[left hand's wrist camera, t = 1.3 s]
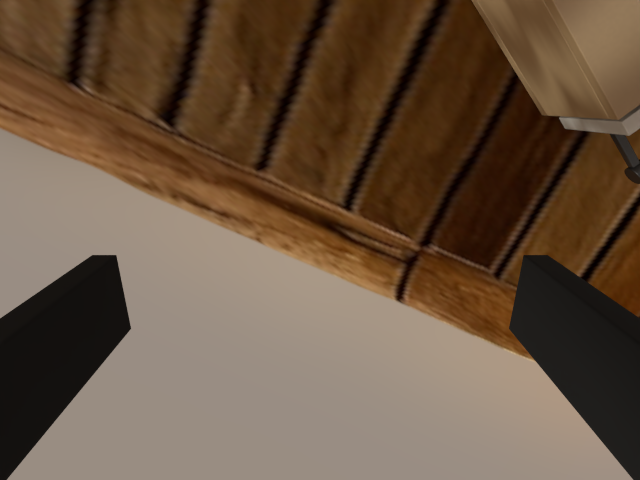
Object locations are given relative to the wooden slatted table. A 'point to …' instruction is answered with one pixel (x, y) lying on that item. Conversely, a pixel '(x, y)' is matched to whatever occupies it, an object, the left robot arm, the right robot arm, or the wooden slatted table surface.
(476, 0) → the cabinet
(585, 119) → the drawer
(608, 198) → the wooden slatted table surface
